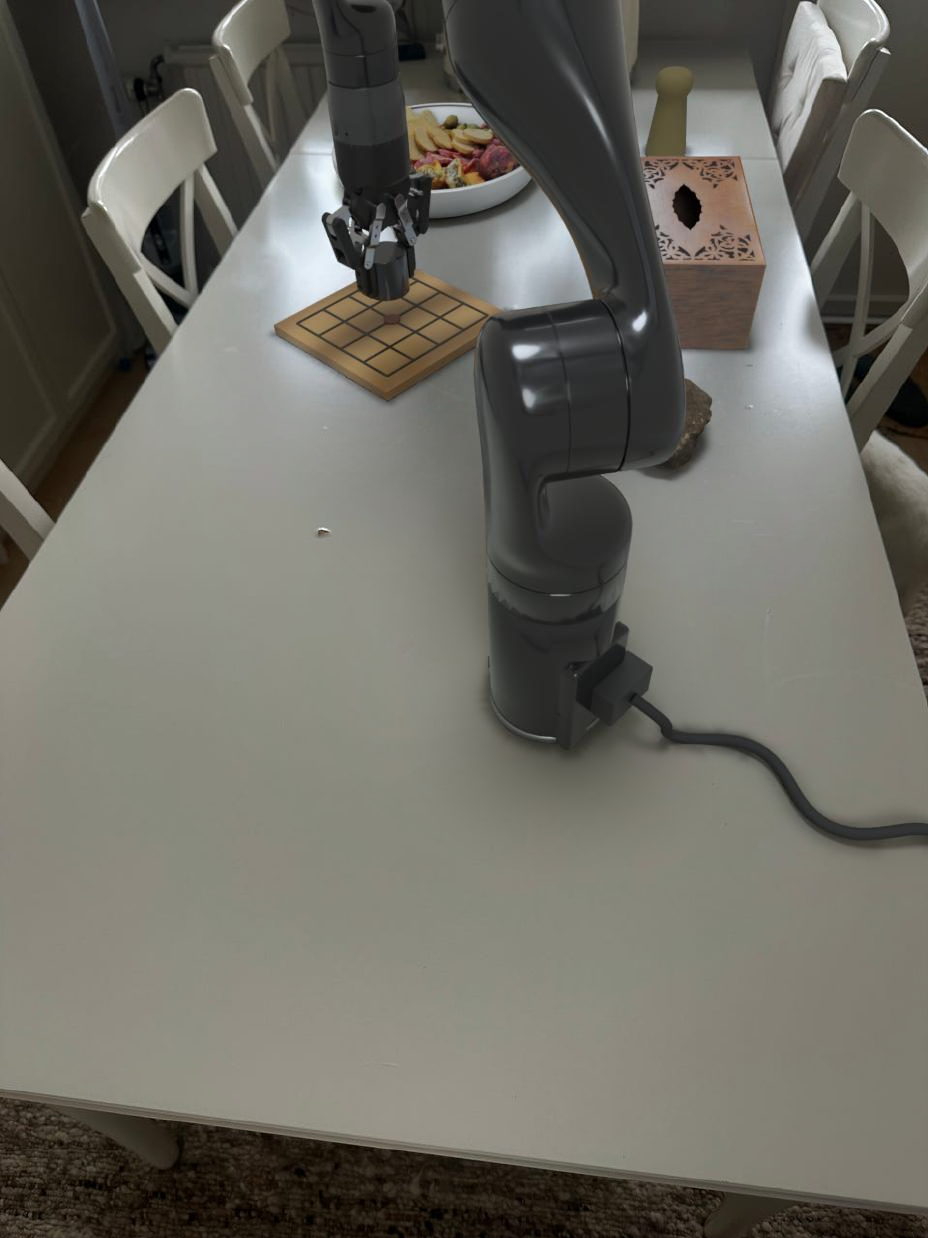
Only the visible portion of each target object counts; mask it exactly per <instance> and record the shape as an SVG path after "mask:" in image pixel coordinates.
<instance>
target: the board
mask: <svg viewBox="0 0 928 1238" xmlns="http://www.w3.org/2000/svg"><path fill="white" fill-rule="evenodd" d="M409 283H410V290H409V292H408V293H407V295H405V296H404V297H402V298H400V299H397V300H393V301H378V300H375V299H371V298H369V297H367V296H365V295H363V294H362V293H361V292H359V290H358V288H357V283H356V280H355V281H354V282H351V283H350V284H348V285H346V286H344V287H342V288H340V289H338V290H337V291H334V292H332V293H331V294H329V295H327V296H325V297H323V298H321V299H320V300H317V301H315V302H314V303H312V304H310V305H308V306H307V307H304V308H303V309H300V310H299V311H297V312H295V313H294V314H291V315H289V316H288V317H286V318H283V319H282V320H280V321H278V322H276V323H274V324H273V328H274V332H275V333H274V334H275V335H277V336H279V337H280V338H282V339H284V340H285V341H287V342H289V343H291V344H292V345H294V346H295V347H297V348H299V349H300V350H302V351H304V352H305V353H306V354H309V355H310V356H312V357H313V358H315V359H316V360H318V361H320V362H322V363H323V364H325V365H327V366H328V367H330V368H332V369H333V370H335V371H337V372H338V373H340V374H341V375H343V376H345V377H347V378H349V379H350V380H351V381H353V382H355V383H356V384H358V385H360V386H361V387H363V388H365V389H366V390H368V391H370V392H371V393H373V394H375V395H376V396H378V397H380V398H381V399H382V400H384V401H386V402H389V401H390V400H392V399H393V398H395V397H397V396H398V395H400V394H401V393H403V392H405V391H406V390H408V389H409V388H411V387H412V386H414V385H417V383H419V382H420V381H422V380H424V379H425V378H427V377H429V376H430V375H432V374H434V373H436V372H437V371H438V370H440V369H442V368H443V367H445V366H446V365H448V364H449V363H451V362H452V361H454V360H456V359H458V358H459V357H460V356H463V355H464V354H466V353H468V352H469V351H470V350H472V349H473V348H475V347H476V341H477V337H478V335H479V332H480V329H481V327H482V326H483V324H484V322H485V321H486V320H487V319H488V318H489V317H491V316H493V315H494V314H498V313H501V312H506V311H505V310H502V309H501V308H499V307H496V306H495V305H493V304H490V303H488V302H486V301H484V300H482V299H480V298H478V297H476V296H474V295H472V294H470V293H468V292H466V291H464V290H462V289H460V288H457V287H455V286H454V285H451V284H449V283H447V282H445V281H443V280H441V279H439V278H437V277H436V276H433V275H431V274H429V273H427V272H424V271H423V270H421V269H419V268H417V267H416V268H415V270H414V276H413V277H412V278H410V279H409Z"/></svg>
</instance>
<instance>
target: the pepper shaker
mask: <svg viewBox="0 0 928 1238" xmlns="http://www.w3.org/2000/svg"><path fill="white" fill-rule="evenodd" d="M693 85H694V76H693V73H692V71H691V70H690V69H689V68H687V67H684V66H681V65H680V66H678V65H674V66H673V65H672V66H667V67H664V68H663V69H661V70H660V71H659V73H658V74H657V77H656V79H655V92H656V94H657V99H656V103H655V107H654V111H653V116H652V120H651V124H650V127H649V132H648V136H647V139H646V140H647V141H646V144H645V149H644V152H645V153H644V154H645V155H646V156H647V157H665V156H686V152H687V126H688V125H687V120H688V96H689V95H690V93H691V91H692V89H693Z"/></svg>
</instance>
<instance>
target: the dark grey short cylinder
mask: <svg viewBox="0 0 928 1238" xmlns="http://www.w3.org/2000/svg"><path fill="white" fill-rule="evenodd" d="M363 250H364V248H362V254H363ZM372 266H374V268H375V275H376V283H377V291H378V296H377V297H375V298H373V299H375V300H378V301H393V300H397V299H400V298H402V297H404V296H405V295H407V293H408V292H409V290H410V283H409V273H408V263H407V252H406V248H405V247H404V246H403V245H402V244H400V243H397V241H392V240H391V241H390V240H381V241H379V245H378V247H376V248H375V252H374V259H373V265H372Z"/></svg>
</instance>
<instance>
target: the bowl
mask: <svg viewBox="0 0 928 1238" xmlns="http://www.w3.org/2000/svg"><path fill="white" fill-rule="evenodd" d="M406 117H407V128H408V139H409V151H410V162H411V170H410V172H411V171H416V172H419V173H422V174H424V175H426V176H428V177H430V178H431V179H432V187H431V198H430V210H429V219H445V218H455V217H460V216H466V215H471V214H475V213H479V212H482V211H485V210H488V209H491V208H493V207H496V206H498V205H501V204H503V203H504V202H506V201H508V200H510V199H511V198H513V197H514V196H515V195H517V194H518V193H520V191H522V190H523V189H524V188H525V187H526V186H527V185H528V184H529V182H530V181H531V180H532V177H531V176H530V175H529V174H528V173H527V172H526V171H525V169H524V168H523V167H522V166H521V165H520V164H519V163H518V161H517V160H516V159H515V158H514V157H513V156H512V155H511V153H510V152H509V151H508V150H507V149H506V148H505V146H504V145H503V144H502V143H501V142H500V141H499V139H498V138H497V137H496V136H495V134H494V133H493V132H492V131H491V129H490V128H489V127H488V126H487V124H486V123H485V122H484V121H483V119H482V118H481V117H480V116H479V114H478V113H477V112H476V110H475V109H474V108H473V106H472V105H471V103H470V102H469V103H468V102H433V103H431V102H430V103H422V104H421V103H419V104H414V105H406ZM331 159H332V165H333V169H334V172H335V175H336V178H337V179H338V181H339V183H340V185H342V182H341V180H340V177H339V175H338V169H337V163H336V156H335V149H334V145H333V146H332V149H331ZM409 174H410V173H409ZM342 187H343V185H342ZM406 208H407V200H406ZM418 214H419V212H418V210H417V216H416V219H418Z"/></svg>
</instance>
